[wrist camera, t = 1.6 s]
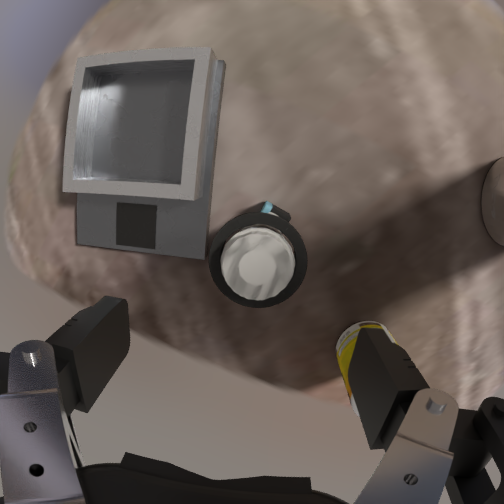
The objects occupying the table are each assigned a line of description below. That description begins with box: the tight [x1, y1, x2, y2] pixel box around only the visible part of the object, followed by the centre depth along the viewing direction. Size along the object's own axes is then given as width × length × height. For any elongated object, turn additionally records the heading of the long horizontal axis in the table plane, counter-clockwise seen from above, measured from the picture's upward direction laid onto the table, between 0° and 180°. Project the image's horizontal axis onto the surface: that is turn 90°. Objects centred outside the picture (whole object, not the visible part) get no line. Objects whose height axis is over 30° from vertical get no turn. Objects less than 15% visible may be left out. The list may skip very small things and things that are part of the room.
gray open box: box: [63, 47, 226, 260], centre depth 23 cm, size 12×16×4 cm
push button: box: [209, 201, 307, 308], centre depth 21 cm, size 7×5×10 cm
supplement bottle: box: [336, 321, 398, 417], centre depth 23 cm, size 6×6×10 cm
